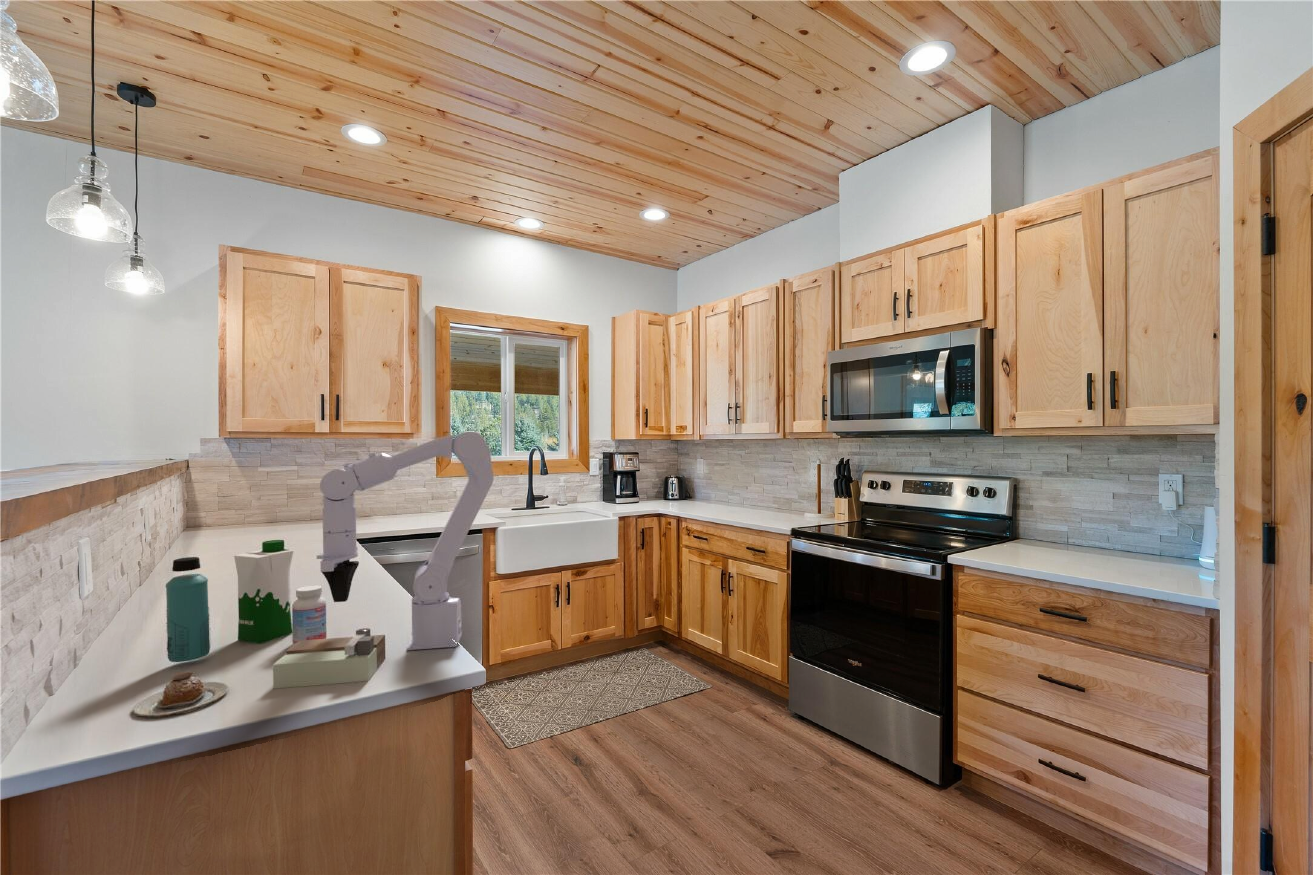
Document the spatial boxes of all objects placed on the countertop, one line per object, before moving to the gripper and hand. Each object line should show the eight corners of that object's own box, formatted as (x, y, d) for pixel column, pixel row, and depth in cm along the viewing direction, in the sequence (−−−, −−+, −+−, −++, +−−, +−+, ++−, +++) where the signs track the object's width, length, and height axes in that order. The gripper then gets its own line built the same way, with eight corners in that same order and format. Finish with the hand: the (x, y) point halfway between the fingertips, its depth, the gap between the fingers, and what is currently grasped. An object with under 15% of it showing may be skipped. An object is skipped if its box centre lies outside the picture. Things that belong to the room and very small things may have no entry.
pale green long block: (377, 669, 107) (376, 633, 107) (368, 680, 102) (368, 643, 102) (286, 676, 105) (285, 639, 105) (273, 688, 100) (272, 649, 100)
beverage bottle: (219, 659, 114) (217, 555, 114) (181, 672, 107) (179, 562, 107) (195, 656, 116) (193, 553, 116) (157, 668, 109) (155, 560, 109)
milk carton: (299, 632, 129) (297, 540, 129) (257, 646, 121) (256, 548, 121) (271, 628, 132) (270, 538, 132) (229, 641, 124) (227, 545, 124)
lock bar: (358, 638, 110) (358, 628, 110) (372, 637, 111) (372, 627, 111) (341, 655, 102) (341, 644, 102) (356, 654, 102) (356, 643, 102)
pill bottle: (311, 648, 119) (310, 592, 119) (285, 646, 120) (284, 591, 120) (333, 638, 125) (332, 584, 125) (308, 636, 126) (307, 583, 126)
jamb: (385, 658, 113) (385, 634, 113) (377, 669, 108) (376, 644, 108) (299, 664, 110) (299, 640, 110) (286, 676, 105) (286, 651, 105)
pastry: (243, 685, 102) (242, 659, 102) (202, 718, 91) (201, 688, 90) (165, 691, 100) (164, 664, 100) (112, 725, 89) (112, 695, 88)
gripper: (331, 526, 122) (332, 592, 122) (301, 538, 107) (303, 613, 107) (367, 524, 123) (368, 590, 123) (343, 536, 109) (345, 610, 109)
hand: (340, 600), depth 115 cm, fingers closed
